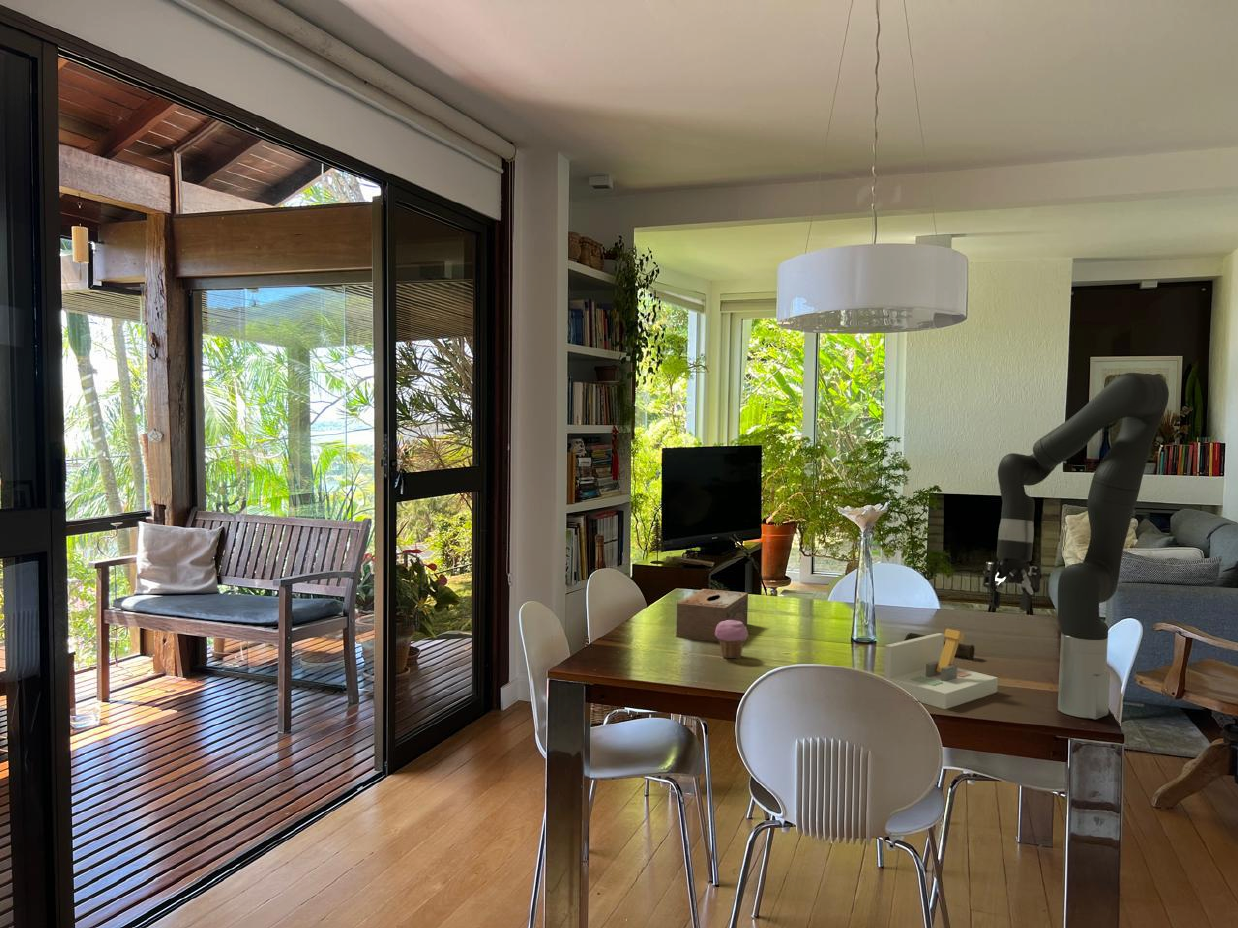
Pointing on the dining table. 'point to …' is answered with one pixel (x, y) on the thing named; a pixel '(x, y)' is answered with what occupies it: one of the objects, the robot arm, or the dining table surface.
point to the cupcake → (731, 637)
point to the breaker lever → (950, 648)
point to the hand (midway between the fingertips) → (1009, 608)
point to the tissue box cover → (709, 612)
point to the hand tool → (961, 650)
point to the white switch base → (933, 673)
